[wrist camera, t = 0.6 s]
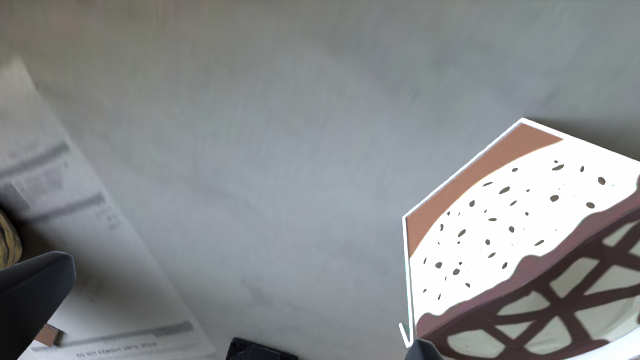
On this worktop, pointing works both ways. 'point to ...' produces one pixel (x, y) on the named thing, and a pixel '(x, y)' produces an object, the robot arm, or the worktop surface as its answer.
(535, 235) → the food container
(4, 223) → the wooden mug
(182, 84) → the worktop surface
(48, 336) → the ruler
